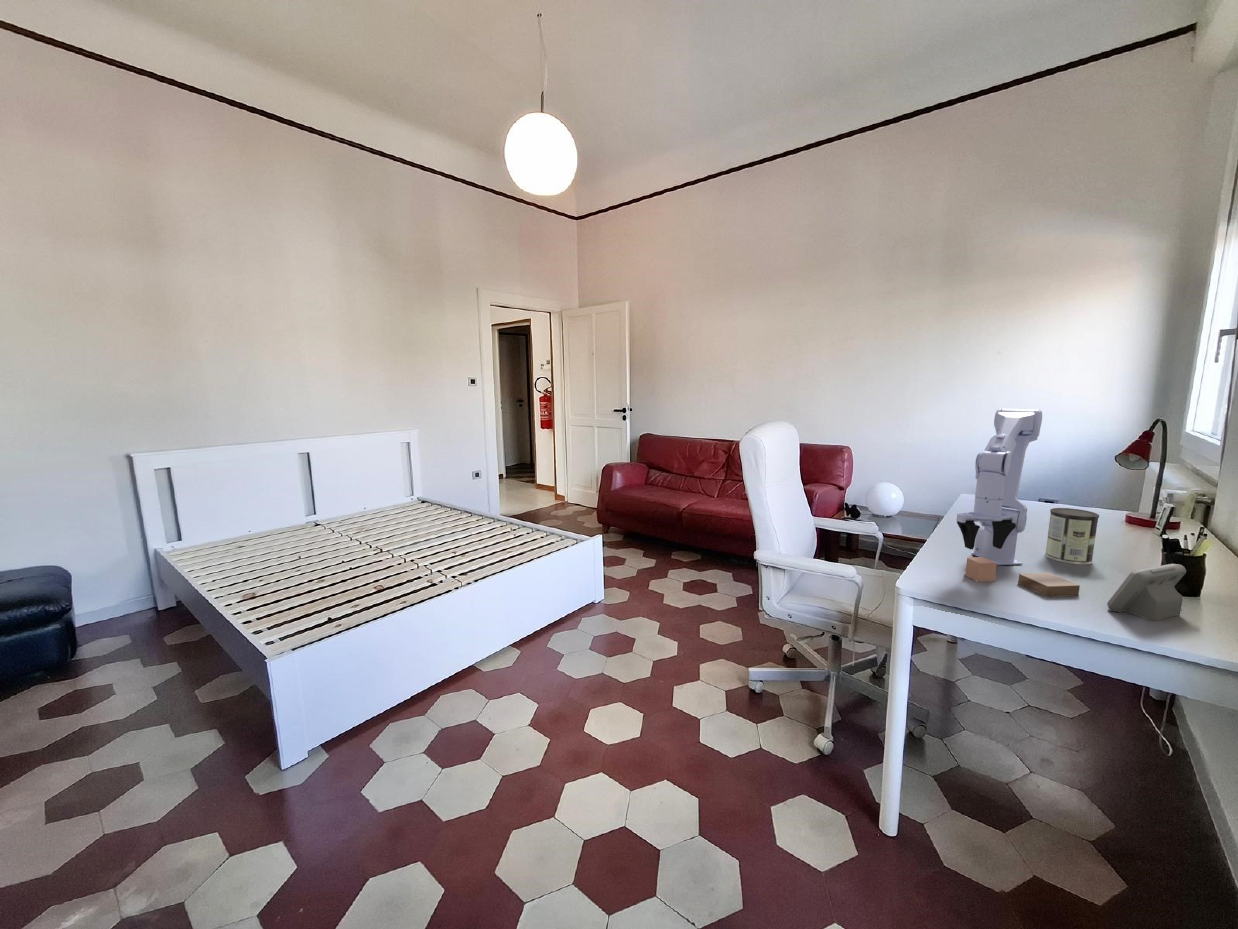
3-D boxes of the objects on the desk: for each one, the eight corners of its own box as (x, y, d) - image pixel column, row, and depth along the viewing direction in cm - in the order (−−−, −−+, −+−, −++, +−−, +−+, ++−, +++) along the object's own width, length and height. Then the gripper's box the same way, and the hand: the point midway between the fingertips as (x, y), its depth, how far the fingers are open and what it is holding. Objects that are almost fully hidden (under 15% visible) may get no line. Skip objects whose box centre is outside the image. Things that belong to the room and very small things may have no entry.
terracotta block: (965, 575, 130) (967, 557, 129) (981, 574, 130) (983, 557, 129) (978, 581, 126) (980, 563, 125) (994, 581, 126) (996, 563, 125)
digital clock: (1153, 600, 114) (1160, 557, 112) (1201, 618, 105) (1210, 572, 103) (1090, 603, 112) (1097, 560, 111) (1134, 622, 104) (1142, 575, 102)
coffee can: (1068, 552, 146) (1075, 507, 144) (1102, 564, 136) (1110, 516, 134) (1034, 552, 146) (1040, 507, 144) (1066, 565, 136) (1073, 517, 134)
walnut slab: (1018, 584, 124) (1019, 573, 124) (1048, 583, 125) (1049, 572, 124) (1046, 598, 116) (1047, 586, 116) (1078, 597, 117) (1079, 585, 116)
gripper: (973, 501, 120) (967, 553, 122) (1029, 500, 121) (1023, 552, 123) (953, 495, 127) (948, 544, 129) (1006, 494, 128) (1000, 543, 130)
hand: (983, 547), depth 127 cm, fingers open, 7 cm apart
